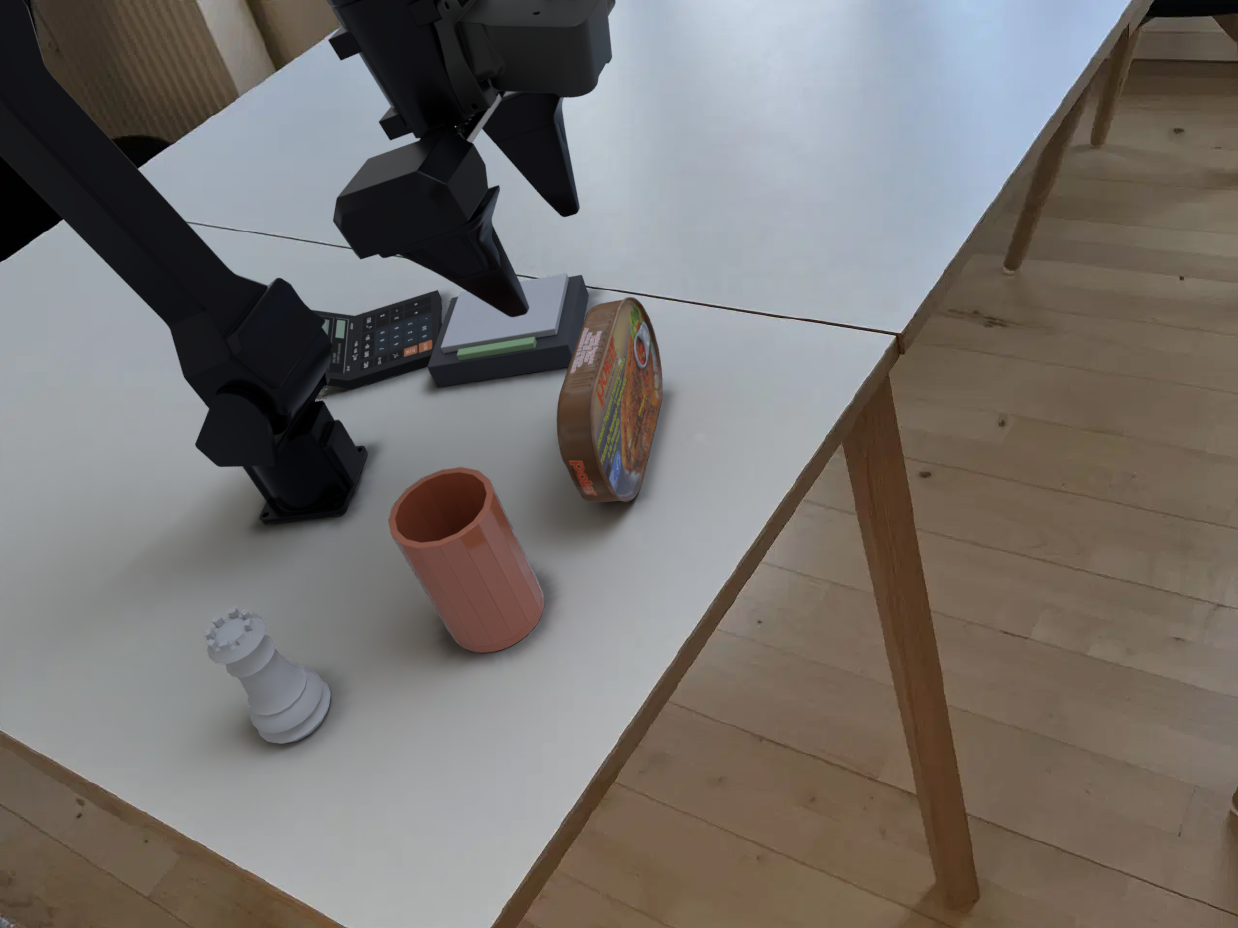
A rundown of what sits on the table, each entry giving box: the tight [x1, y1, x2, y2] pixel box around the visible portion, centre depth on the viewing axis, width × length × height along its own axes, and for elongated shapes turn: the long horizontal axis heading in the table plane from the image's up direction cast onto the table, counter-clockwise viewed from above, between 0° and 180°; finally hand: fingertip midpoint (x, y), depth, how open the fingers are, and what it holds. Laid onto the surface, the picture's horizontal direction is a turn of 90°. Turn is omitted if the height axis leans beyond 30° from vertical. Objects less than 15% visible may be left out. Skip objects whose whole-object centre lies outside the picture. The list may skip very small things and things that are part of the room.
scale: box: [427, 273, 590, 388], centre depth 82 cm, size 11×9×3 cm
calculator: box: [311, 289, 443, 390], centre depth 86 cm, size 9×12×3 cm
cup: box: [387, 466, 545, 654], centre depth 59 cm, size 6×6×9 cm
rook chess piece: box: [204, 607, 332, 744], centre depth 58 cm, size 4×4×8 cm
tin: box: [556, 296, 663, 503], centre depth 67 cm, size 15×3×8 cm, turn 168°
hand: (547, 261), depth 56 cm, fingers open, 9 cm apart
